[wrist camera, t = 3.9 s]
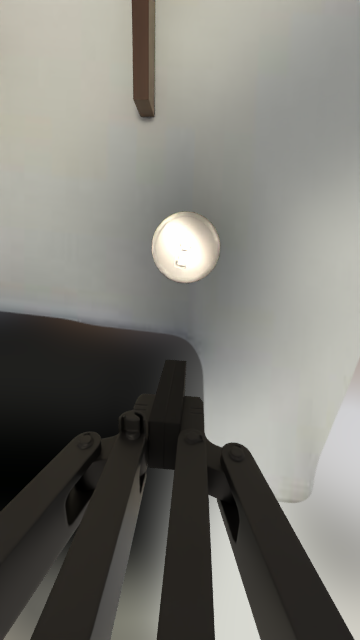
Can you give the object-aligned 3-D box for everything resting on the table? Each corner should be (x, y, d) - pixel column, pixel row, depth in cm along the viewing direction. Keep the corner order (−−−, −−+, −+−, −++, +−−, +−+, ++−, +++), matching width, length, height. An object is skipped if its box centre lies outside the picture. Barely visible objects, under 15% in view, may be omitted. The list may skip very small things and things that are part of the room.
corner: (249, -65, 21) (258, -115, 18) (234, 117, 25) (239, 99, 22) (139, -61, 22) (130, -108, 19) (140, 116, 25) (133, 99, 23)
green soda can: (206, 276, 30) (211, 292, 18) (164, 266, 30) (142, 276, 18) (217, 231, 28) (230, 218, 17) (173, 221, 28) (156, 200, 17)
